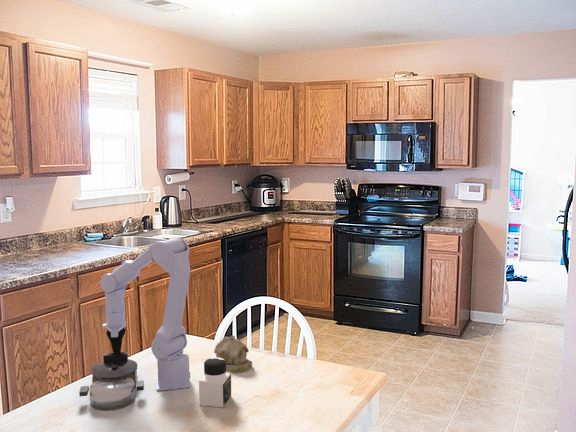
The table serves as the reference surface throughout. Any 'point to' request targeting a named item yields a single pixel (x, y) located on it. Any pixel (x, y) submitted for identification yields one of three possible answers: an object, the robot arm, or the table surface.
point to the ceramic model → (233, 354)
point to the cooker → (112, 392)
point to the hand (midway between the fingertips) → (117, 351)
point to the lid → (114, 366)
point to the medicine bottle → (215, 383)
